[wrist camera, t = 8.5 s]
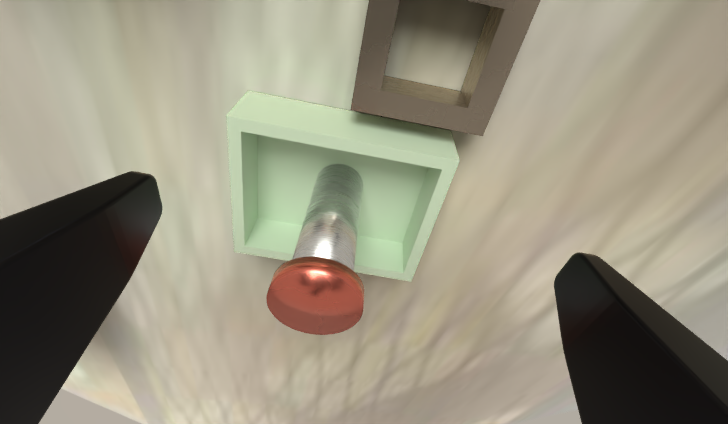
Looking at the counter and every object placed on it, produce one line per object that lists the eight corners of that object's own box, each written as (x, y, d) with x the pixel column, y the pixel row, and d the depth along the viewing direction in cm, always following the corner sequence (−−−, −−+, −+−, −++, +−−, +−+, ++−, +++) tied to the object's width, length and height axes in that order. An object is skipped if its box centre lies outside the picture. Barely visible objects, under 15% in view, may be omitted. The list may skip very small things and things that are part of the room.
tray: (450, 130, 18) (459, 160, 16) (408, 245, 23) (411, 281, 21) (248, 90, 18) (226, 115, 15) (250, 218, 23) (234, 251, 20)
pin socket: (530, -26, 14) (548, -20, 13) (474, 117, 18) (482, 136, 16) (380, -61, 14) (378, -59, 12) (354, 93, 17) (350, 109, 16)
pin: (378, 162, 19) (371, 282, 13) (365, 214, 21) (354, 340, 15) (310, 149, 19) (267, 265, 12) (304, 203, 21) (265, 326, 14)
